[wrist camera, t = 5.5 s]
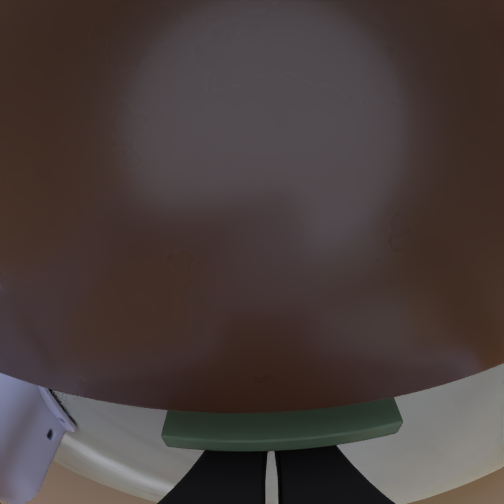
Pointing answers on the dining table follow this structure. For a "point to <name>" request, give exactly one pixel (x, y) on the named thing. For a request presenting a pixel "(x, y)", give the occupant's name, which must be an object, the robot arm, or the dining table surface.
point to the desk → (250, 199)
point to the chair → (281, 428)
